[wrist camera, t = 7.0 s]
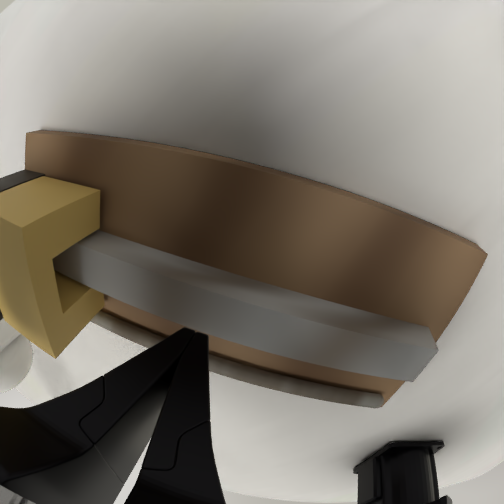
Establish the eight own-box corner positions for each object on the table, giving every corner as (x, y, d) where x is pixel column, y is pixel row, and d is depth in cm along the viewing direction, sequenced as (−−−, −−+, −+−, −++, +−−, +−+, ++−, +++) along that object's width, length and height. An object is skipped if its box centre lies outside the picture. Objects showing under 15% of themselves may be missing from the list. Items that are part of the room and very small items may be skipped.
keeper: (100, 189, 10) (21, 227, 6) (104, 305, 13) (55, 358, 9) (43, 175, 10) (-25, 204, 6) (53, 279, 13) (4, 320, 9)
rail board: (476, 244, 9) (554, 329, 4) (379, 393, 14) (388, 483, 8) (39, 130, 11) (-52, 154, 5) (49, 283, 15) (-9, 334, 10)
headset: (5, 290, 18) (-106, 403, 2) (49, 316, 17) (-76, 467, 1) (64, 409, 27) (7, 497, 11) (105, 432, 26) (50, 532, 10)
